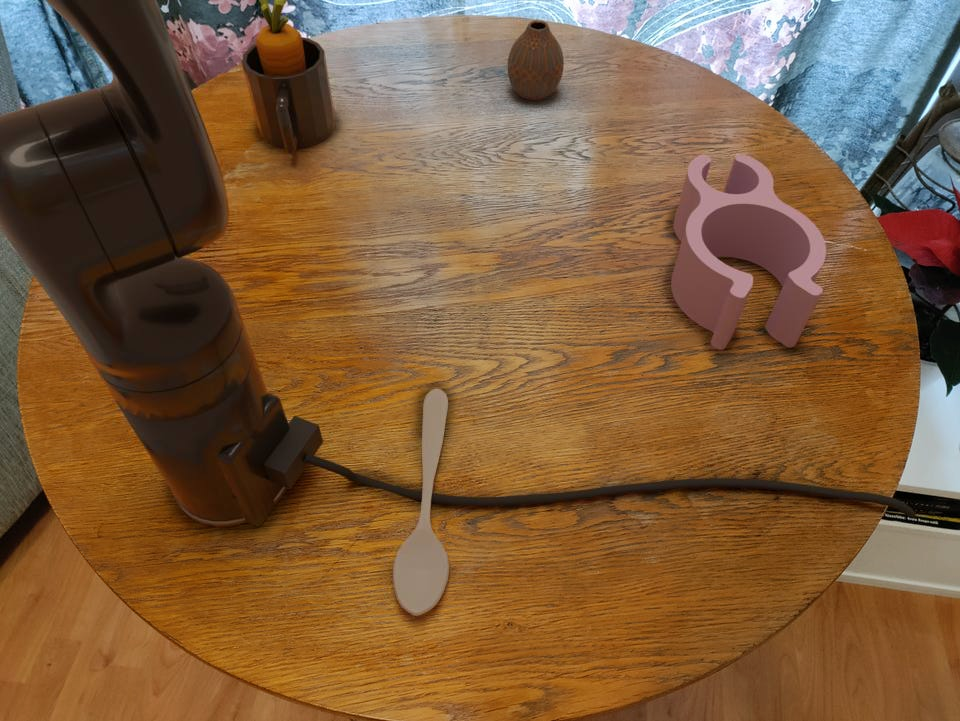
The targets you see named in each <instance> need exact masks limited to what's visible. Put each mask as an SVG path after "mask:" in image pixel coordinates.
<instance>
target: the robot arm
mask: <svg viewBox="0 0 960 721" xmlns="http://www.w3.org/2000/svg"><path fill="white" fill-rule="evenodd" d="M44 1H45V2H46V3H47V4H48V5H49V6H50V7H51V8H52V9H54V10H55V11H56V13H58V14H59V15H60V16H61V17H62V18H63V19H64V20H65V21H66V22H67V23H68V24H69V25H70V26H71V27H72V29H74V30H75V31H76V32H77V33H78V34H79V35H80V36H81V37H82V38H83V39H84V40H85V41H86V43H87V44H88V45H89V46H90V47H91V48H92V50H93V51H94V52H95V53H96V54H97V56H99V58H100V60H102V63H104V65H105V66H106V67H107V69H108V70H109V71H110V72H111V73H112V79H111V81H110V82H109V83H108V84H106V85H101V86H99V87H98V88H96V87H94V88H90V89H87V90H83V91H79V92H76V93H73V94H69V95H66V96H62V97H59V98H55V99H51V100H47V101H44V102H40V103H37V104H34V105H30V106H27V107H24V108H19V109H17V110H13V111H10V112H6V113H4V114H1V115H0V230H1V232H2V233H3V235H4V236H5V237H6V239H7V241H8V242H9V244H10V245H11V247H12V248H13V249H14V251H15V252H16V254H17V255H18V257H19V258H20V259H21V260H22V262H23V263H24V265H25V266H26V268H27V269H28V271H29V272H30V274H32V276H33V277H34V278H35V279H36V281H37V282H38V283H39V285H40V286H41V287H42V289H43V290H44V292H45V293H46V294H47V296H48V297H49V298H50V300H51V301H52V302H53V304H54V306H55V307H56V308H57V310H58V311H59V313H60V314H61V315H62V317H63V319H64V320H65V321H66V323H67V324H68V326H69V327H70V329H71V331H72V332H73V334H74V336H75V337H76V339H77V340H78V342H79V344H80V345H81V348H83V350H84V352H85V354H86V356H87V357H88V359H89V360H90V363H92V366H93V367H94V368H95V370H96V371H97V373H98V375H99V377H100V378H101V380H102V381H103V383H104V384H105V386H106V388H107V389H108V391H109V393H110V394H111V396H112V397H113V399H114V401H115V403H116V404H117V406H118V408H119V409H120V411H121V413H122V415H124V417H125V419H126V420H127V422H128V423H129V425H130V427H131V428H132V430H133V432H134V433H135V435H136V436H137V438H138V440H139V441H140V443H141V445H142V446H143V448H144V450H145V451H146V452H147V455H148V456H149V457H150V459H151V461H152V462H153V464H154V465H155V467H156V469H157V470H158V472H159V474H160V476H161V477H162V478H163V480H164V481H165V483H166V484H167V486H168V488H169V489H170V490H171V492H172V496H173V498H174V499H175V501H176V503H177V505H178V507H179V508H180V510H182V511H183V513H184V514H185V515H186V516H188V517H189V518H190V519H192V520H193V521H195V522H197V523H200V524H202V525H205V526H209V527H219V528H224V527H226V528H227V527H233V526H240V525H243V524H246V523H247V524H250V525H253V526H255V527H261V525H263V524H264V522H265V520H266V519H267V518H268V516H269V515H270V513H271V512H272V510H273V509H274V508H275V506H276V505H277V503H278V502H279V501H280V500H281V499H282V497H283V496H284V495H285V493H286V492H287V490H291V489H292V488H293V487H294V485H295V484H296V483H297V481H298V479H299V478H300V477H301V475H302V474H303V472H304V471H305V469H306V468H307V466H308V465H311V466H315V467H316V468H320V469H323V470H326V471H329V472H331V473H334V474H336V475H340V476H342V477H343V478H345V479H347V480H348V481H350V482H353V483H356V484H359V485H362V486H365V487H369V488H375V489H380V490H383V491H387V492H390V493H393V494H396V495H398V496H401V497H403V498H407V499H412V500H415V501H421V502H422V491H420V490H416V489H410V488H406V487H402V486H398V485H394V484H392V483H387V482H384V481H381V480H377V479H374V478H372V477H368V476H365V475H362V474H358V473H357V472H354V471H353V470H352V469H351V468H349V467H347V466H345V465H341V464H339V463H337V462H334V461H330V460H328V459H325V458H322V457H319V456H316V454H317V452H318V451H319V450H320V448H321V446H322V445H323V443H324V439H323V436H322V432H321V428H320V425H318V424H317V423H314V422H312V421H309V420H308V419H304V418H302V417H300V416H297V415H294V416H293V417H292V418H291V420H288V418H287V415H286V413H285V412H286V411H285V410H284V406H283V404H282V401H281V398H280V397H279V396H277V395H275V394H272V393H270V392H269V391H268V388H267V387H266V383H265V380H264V377H263V375H262V372H261V369H260V366H259V364H258V360H257V358H256V355H255V352H254V349H253V346H252V344H251V340H250V337H249V335H248V331H247V329H246V326H245V323H244V320H243V317H242V314H241V310H240V307H239V305H238V302H237V299H236V297H235V294H234V293H233V292H234V291H233V290H232V288H231V286H230V284H229V283H228V281H227V280H226V279H225V278H224V276H222V275H221V274H220V272H218V271H217V270H216V269H214V268H213V267H211V266H210V265H208V264H206V263H204V262H201V261H199V260H196V259H193V258H189V257H186V256H188V255H191V254H193V253H196V252H198V251H201V250H202V249H205V248H206V247H209V246H210V245H212V244H214V243H215V242H216V241H218V240H219V239H221V238H222V237H223V235H224V234H225V233H226V231H227V229H228V226H229V220H230V206H229V199H228V194H227V189H226V185H225V181H224V177H223V174H222V170H221V167H220V164H219V160H218V158H217V155H216V152H215V150H214V147H213V145H212V142H211V139H210V136H209V133H208V130H207V128H206V125H205V123H204V120H203V118H202V115H201V113H200V110H199V107H198V105H197V102H196V100H195V96H194V94H193V92H192V89H191V87H190V84H189V81H188V79H187V77H186V74H185V71H184V68H183V66H182V63H181V61H180V58H179V55H178V54H177V50H176V47H175V46H174V43H173V41H172V38H171V35H170V33H169V30H168V27H167V25H166V22H165V19H164V16H163V14H162V12H161V9H160V6H159V4H158V1H157V0H44ZM698 488H699V489H701V488H702V489H703V488H736V489H737V488H739V489H740V488H741V489H756V490H757V489H760V490H771V491H781V492H789V493H797V494H804V495H811V496H816V497H817V496H818V497H825V498H829V499H831V498H832V499H839V500H846V501H856V502H864V503H871V504H878V505H883V506H887V507H890V508H893V509H895V510H897V511H898V512H900V513H902V514H903V515H905V516H906V517H907V518H908V517H909V518H915V517H917V514H916V512H915V510H914V509H913V508H912V507H911V506H909V505H908V504H907V503H905V502H904V501H901V500H899V499H897V498H894V497H891V496H888V495H884V494H878V493H871V492H865V491H864V492H863V491H856V490H855V491H854V490H845V489H837V488H829V487H824V486H818V485H817V486H816V485H809V484H803V483H797V482H796V483H795V482H787V481H778V480H768V479H754V478H753V479H752V478H729V477H728V478H726V477H725V478H724V477H722V478H721V477H720V478H719V477H718V478H717V477H715V478H713V477H712V478H710V477H709V478H690V479H689V478H688V479H687V478H686V479H673V480H672V479H671V480H663V481H662V480H661V481H651V482H638V483H628V484H619V485H610V486H602V487H595V488H587V489H579V490H570V491H562V492H550V493H549V492H548V493H538V494H537V493H536V494H535V493H534V494H522V495H520V494H519V495H508V496H461V495H460V496H459V495H449V494H448V495H447V494H441V493H440V494H439V493H433V492H432V496H431V503H432V504H441V505H449V506H450V505H451V506H462V507H503V506H504V507H505V506H521V505H533V504H547V503H548V504H549V503H560V502H569V501H570V502H571V501H578V500H579V501H580V500H586V499H595V498H601V497H607V496H608V497H609V496H616V495H624V494H634V493H635V494H636V493H637V494H638V493H647V492H658V491H670V490H681V489H683V490H685V489H698Z"/></svg>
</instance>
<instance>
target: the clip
mask: <svg viewBox="0 0 960 721" xmlns="http://www.w3.org/2000/svg"><path fill="white" fill-rule="evenodd" d="M711 163H712V158H711V157H710V156H709V155H708V154H699V155H698V156H696V157H695V158H693V159H692V160H691V161H690V163H689V164H688V167H687V171H686V174H685V177H684V182H683V185H682V189H681V192H680V193H681V194H680V197H679V201H678V205H677V207H676V208H677V209H676V212H675V215H674V220H673V226H672V227H673V231H674V233H675V236H676V237H677V239H678V240H679V242H680V247H679V250H678V254H677V256H676V259H675V263H674V268H673V271H672V274H671V279H670V290H671V294H672V297H673V299H674V301H675V303H676V304H677V306H678V308H679V309H680V310H681V311H682V312H683V313H684V315H686V316H687V317H688V318H689V319H690V320H691V321H692V322H694V323H695V324H697V325H698V326H699V327H701V328H704V329H706V330H708V331H710V332H711V333H713V334H712V337H711V340H710V345H711V347H712V348H714V349H716V350H718V351H720V350H721V351H722V350H724V349H726V347H727V345H729V343H730V341H731V340H732V337H733V335H734V333H735V330H736V328H737V325H738V322H739V320H740V319H741V316H742V313H743V311H744V307H745V306H746V303H747V300H748V297H749V295H750V293H751V290H752V288H753V284H754V277H753V275H752V274H751V273H749V272H745V271H742V270H739V269H736V268H735V267H732V266H730V265H728V264H727V263H724V262H723V261H721V260H720V259H719V258H734V259H741V260H744V261H748V262H750V263H753V264H755V265H757V266H760V267H761V268H762V269H765V270H766V271H767V272H769V273H770V274H771V275H772V276H773V277H774V278H775V279H776V280H777V281H778V282H779V284H780V285H781V290H780V292H779V295H778V297H777V299H776V302H775V303H774V306H773V307H772V310H771V312H770V314H769V317H768V319H767V321H766V323H765V326H764V329H765V330H766V332H767V333H768V334H769V336H771V338H773V339H774V340H776V341H777V342H778V343H780V344H781V345H783V346H784V347H786V348H794V347H795V346H796V345H797V344H798V341H799V339H800V337H801V335H802V333H803V331H804V329H805V327H806V325H807V323H808V322H809V319H810V318H811V316H812V314H813V311H814V309H815V308H816V306H817V304H818V302H819V300H820V298H821V296H822V294H823V293H824V292H823V291H824V290H823V288H822V286H820V285H819V284H817V283H816V280H817V277H818V276H819V274H820V271H821V269H822V267H823V265H824V263H825V260H826V256H827V245H826V241H825V239H824V236H823V234H822V232H821V231H820V230H819V228H818V227H817V225H815V223H814V222H813V221H812V219H810V218H808V216H806V215H804V213H802V212H801V211H799V210H798V209H796V208H795V207H793V206H791V205H788V204H787V203H785V202H784V201H782V200H781V199H780V198H779V197H778V196H777V195H776V193H775V191H774V183H775V182H774V178H773V175H772V173H771V171H770V170H769V168H768V167H766V165H764V164H763V163H762V162H760V161H759V160H757V159H756V158H753V157H752V156H749V155H747V154H744V153H736V154H735V156H734V157H733V162H732V165H731V168H730V170H729V174H728V178H727V180H726V184H725V186H724V189H723V191H720V190H717V189H716V188H714V187H712V186H710V185H709V184H708V183H707V181H706V180H707V177H708V173H709V170H710V167H711Z"/></svg>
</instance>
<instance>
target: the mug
mask: <svg viewBox="0 0 960 721" xmlns="http://www.w3.org/2000/svg"><path fill="white" fill-rule="evenodd" d="M301 37H302V42H303V48H304V55H305V63H306V70H305V71H303V72H300V73H297V74H293V75H289V76H269V75H265V74H264V71H263V68H262V64H261V61H260V57H259V53H258V49H257V45H256V43H254V44H252V45H250V47H248V48H247V50H246V51H245V52H244V53H243V54H242V59H241V66H242V70H243V74H244V77H245V80H246V84H247V89H248V94H249V97H250V100H251V105H252V109H253V113H254V117H255V120H256V124H257V127H258V129H259V134H260V137H262V139H263V140H264V141H265V142H266V143H268V144H270V145H272V146H274V147H276V148H277V147H278V148H280V149H281V148H282V149H284V150H285V152H286V153H288V154H294V153H295V152H296V151H297V149H304V148H309V147H312V146H315V145H318V144H320V143H321V142H323V141H326V140H327V139H328V138H329V137H330V136H331V135H332V134H333V132H334V131H335V128H336V117H335V109H334V101H333V96H332V90H331V83H330V77H329V71H328V64H327V60H326V53H325V50H324V48H323V47H322V46H321V44H320V43H319V42H317V41H316V40H315V41H314V40H313V39H311V38H309V37H303V36H301Z"/></svg>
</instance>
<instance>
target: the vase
mask: <svg viewBox="0 0 960 721" xmlns="http://www.w3.org/2000/svg"><path fill="white" fill-rule="evenodd" d="M564 61H565V60H564V54H563V48H562V47H561V45H560V42H559V41H558V40H557V38H556V37H555V35H554V34H553V33H552V31H551V29H550V26H549V24H548V23H547V22H546V21H544V20H539V19H538V20H537V19H536V20H532V21H530V22H529V23H528V24H527V26H526V28H525V30H524V31H523V32H522V33H521V34H520V35H519V37H518V38H516V40H515V41H514V42H513V44H512V46H511V48H510V51H509V54H508V58H507V77H508V80H509V83H510V86H511V88H512V89H513V90H514V92H515V93H516V94H517V95H518V96H519V97H521V98H522V99H525V100H529V101H542V100H544V99H547V98H548V97H549V96H551V95H552V94H553V93H554V92H555V91H556V90H557V89H558V87H559V85H560V84H561V80H562V78H563V74H564V66H565V65H564V64H565V62H564Z"/></svg>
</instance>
